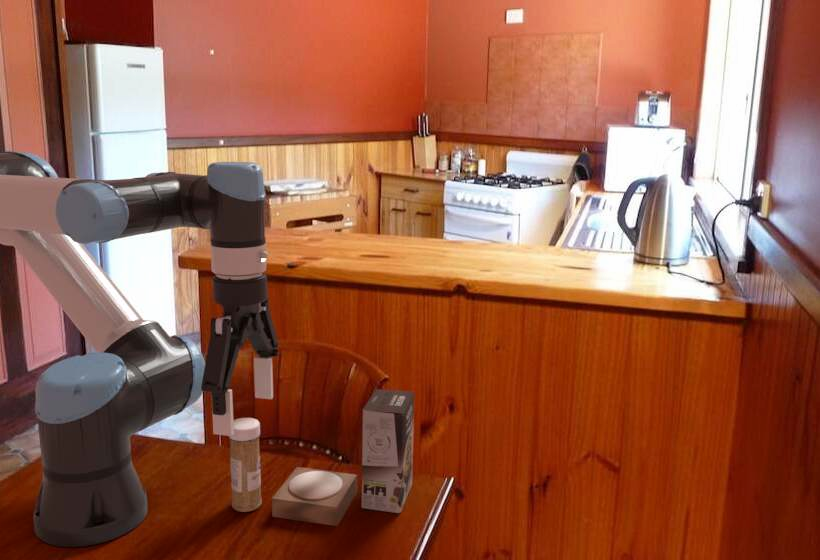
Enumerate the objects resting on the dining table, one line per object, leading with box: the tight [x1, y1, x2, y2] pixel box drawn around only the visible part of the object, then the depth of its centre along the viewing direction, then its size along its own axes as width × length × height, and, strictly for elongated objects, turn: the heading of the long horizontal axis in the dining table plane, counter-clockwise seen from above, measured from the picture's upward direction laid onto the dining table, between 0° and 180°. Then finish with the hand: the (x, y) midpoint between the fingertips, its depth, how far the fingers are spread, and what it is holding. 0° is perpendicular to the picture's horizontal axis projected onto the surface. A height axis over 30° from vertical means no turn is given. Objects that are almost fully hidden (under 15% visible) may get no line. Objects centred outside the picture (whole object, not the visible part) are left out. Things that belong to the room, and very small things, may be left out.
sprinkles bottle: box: [228, 417, 263, 513], centre depth 110 cm, size 5×5×13 cm
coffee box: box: [361, 388, 415, 514], centre depth 113 cm, size 9×6×16 cm
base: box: [271, 466, 358, 527], centre depth 112 cm, size 10×10×3 cm
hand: (245, 415), depth 108 cm, fingers open, 13 cm apart
